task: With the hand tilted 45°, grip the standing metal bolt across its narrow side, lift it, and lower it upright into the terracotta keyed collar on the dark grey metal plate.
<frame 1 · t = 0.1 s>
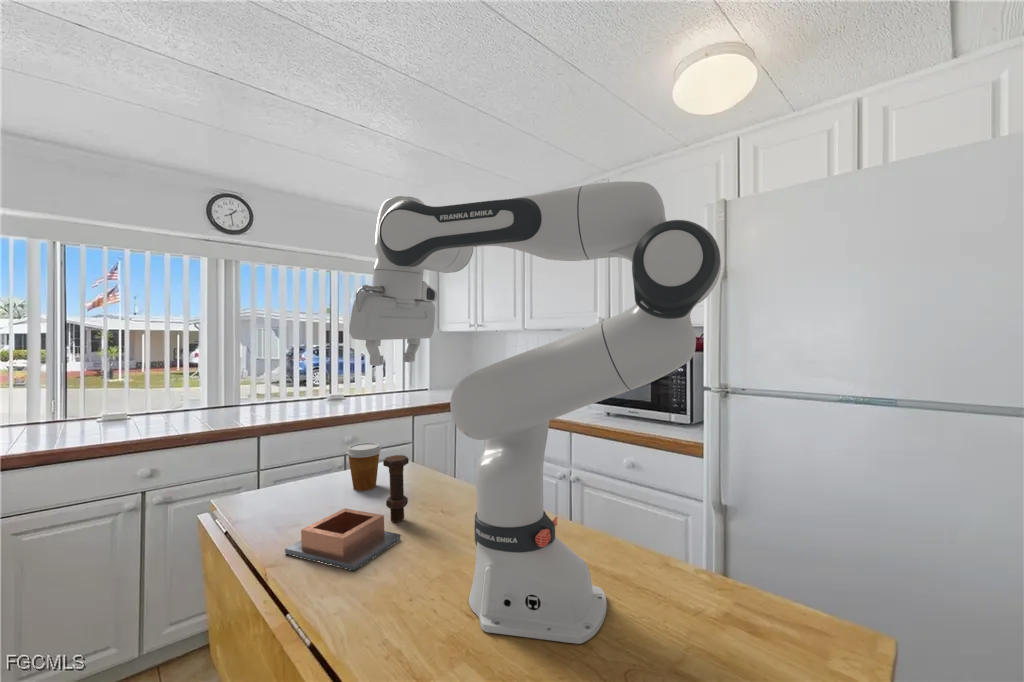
hand: (393, 363, 84), 39 cm above the table, tool pointing down, fingers open, 8 cm apart
disposable coffee cup: (364, 488, 132), on the table
bolt: (397, 521, 108), on the table
socket: (344, 546, 95), on the table
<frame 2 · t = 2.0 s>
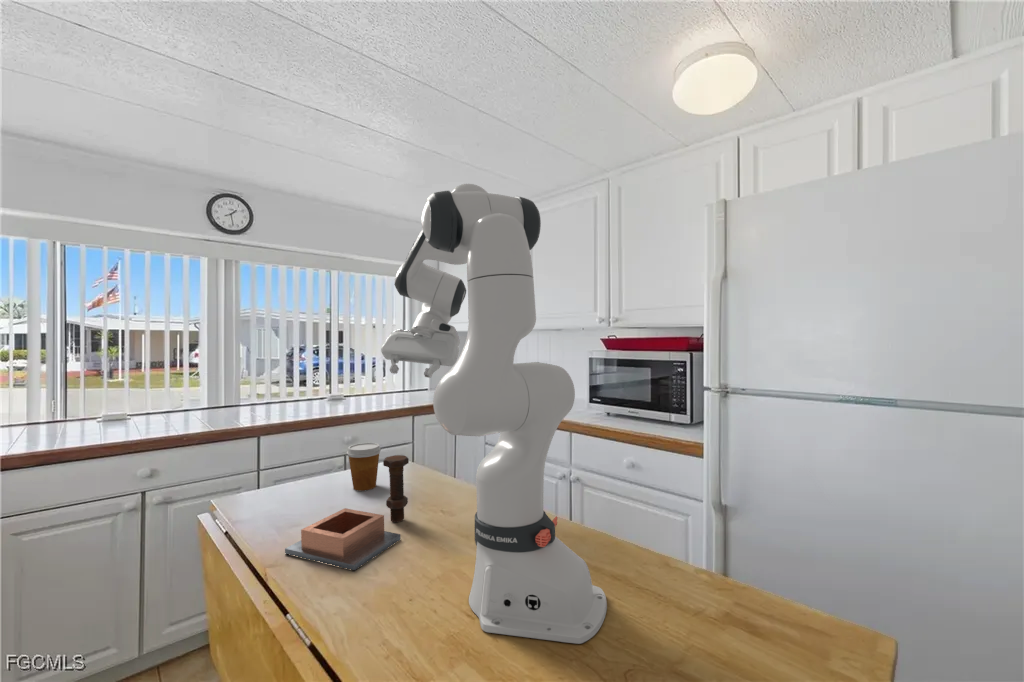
hand: (409, 374, 114), 34 cm above the table, tool tilted 40°, fingers open, 8 cm apart
nothing on the table moved.
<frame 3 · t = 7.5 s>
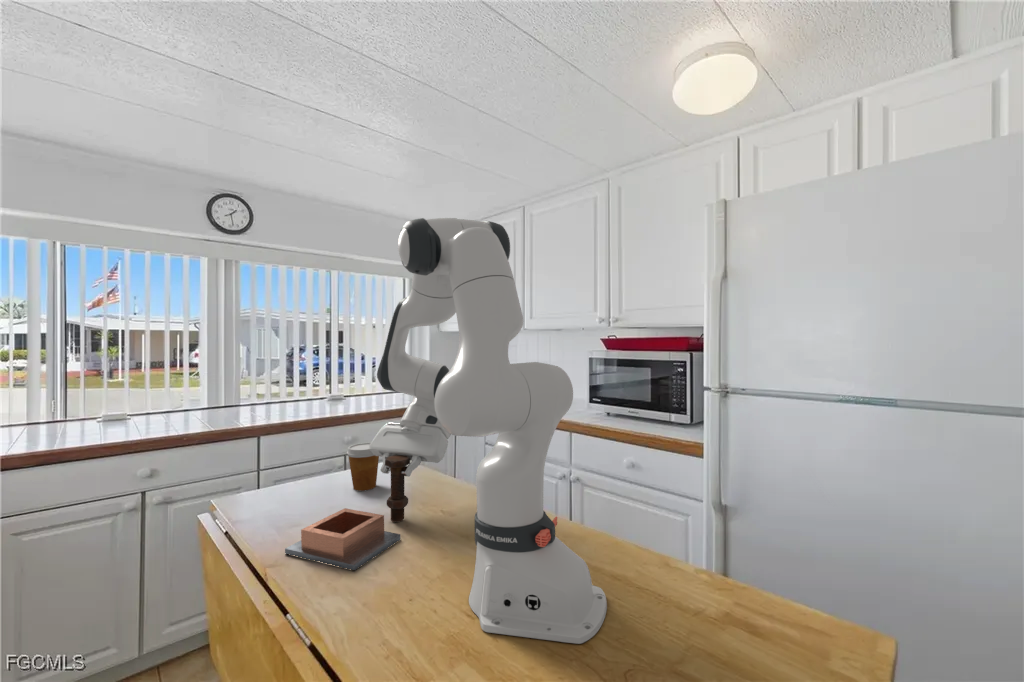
hand: (394, 473, 107), 11 cm above the table, tool tilted 45°, fingers closed on bolt, 5 cm apart
bolt: (397, 521, 108), on the table, touching gripper
everything else where it was.
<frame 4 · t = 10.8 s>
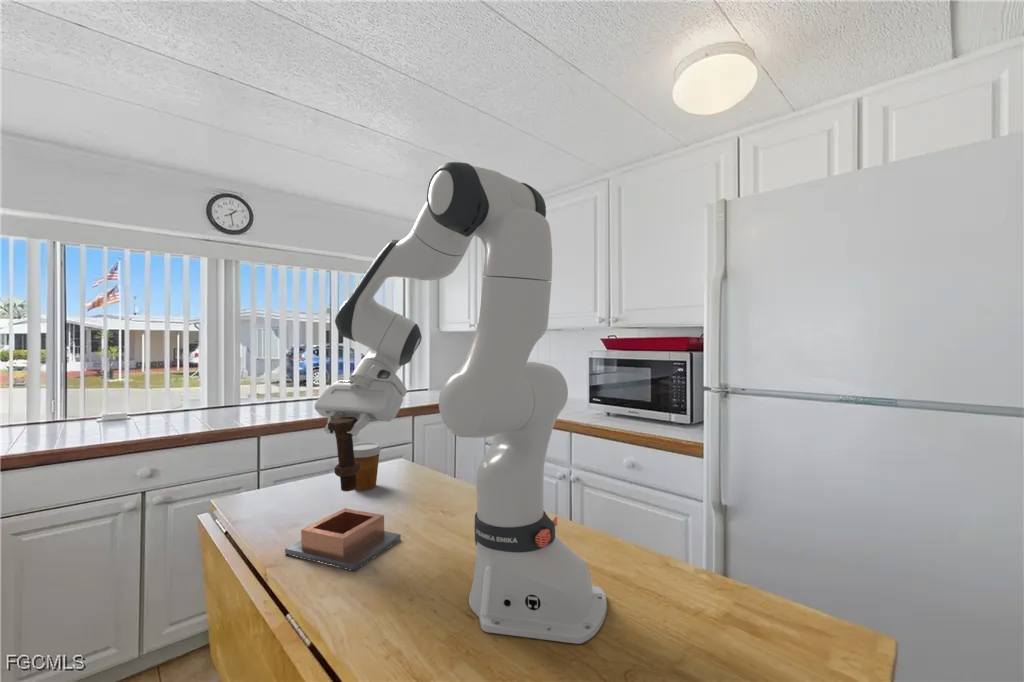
hand: (339, 433, 94), 24 cm above the table, tool tilted 45°, fingers closed on bolt, 5 cm apart
bolt: (349, 490, 96), point 12 cm above the table, touching gripper
everything else where it was.
when the fingers open (13 cm above the table, at t = 13.9 s): bolt stays where it is, resting on socket.
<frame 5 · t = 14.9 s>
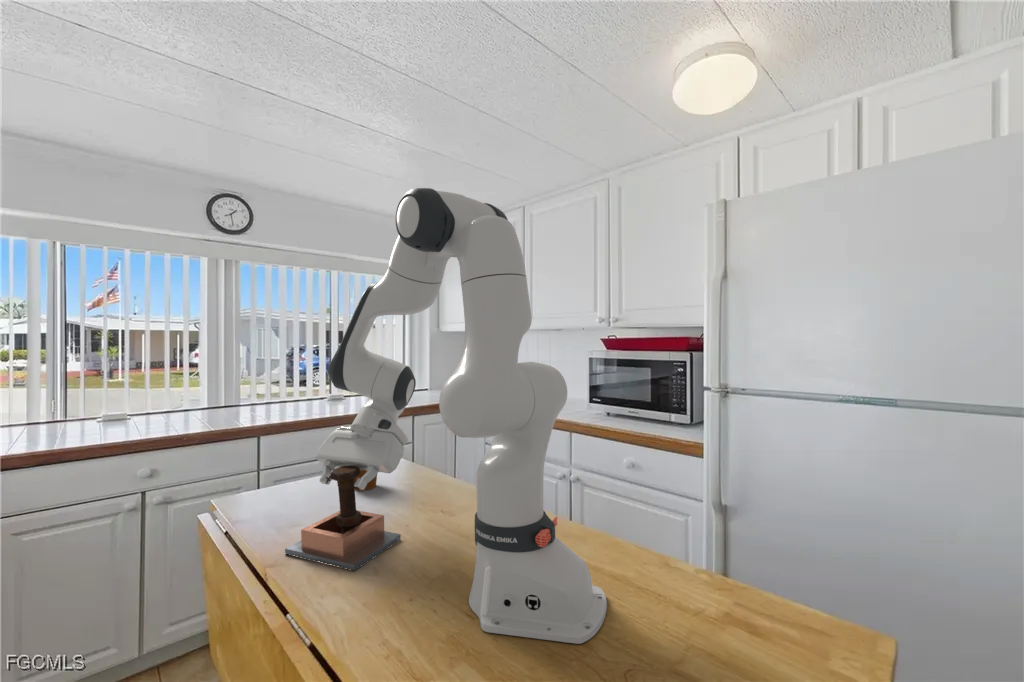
hand: (340, 485, 94), 13 cm above the table, tool tilted 45°, fingers open, 8 cm apart
bolt: (350, 540, 96), point 1 cm above the table, touching socket
everything else where it was.
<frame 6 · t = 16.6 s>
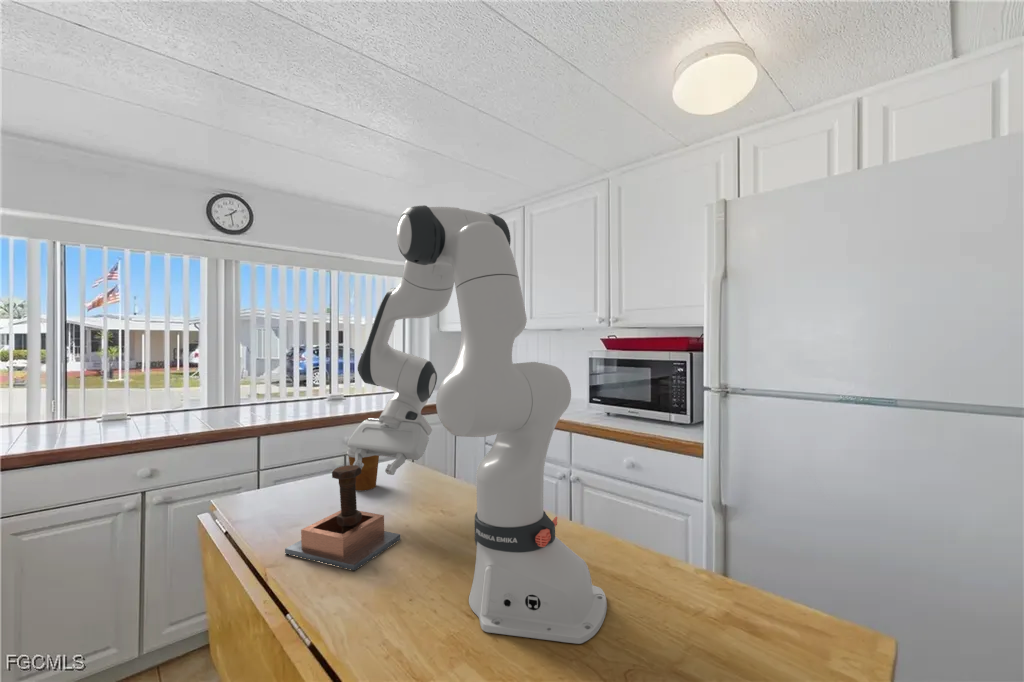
hand: (372, 471, 103), 13 cm above the table, tool tilted 45°, fingers open, 8 cm apart
nothing on the table moved.
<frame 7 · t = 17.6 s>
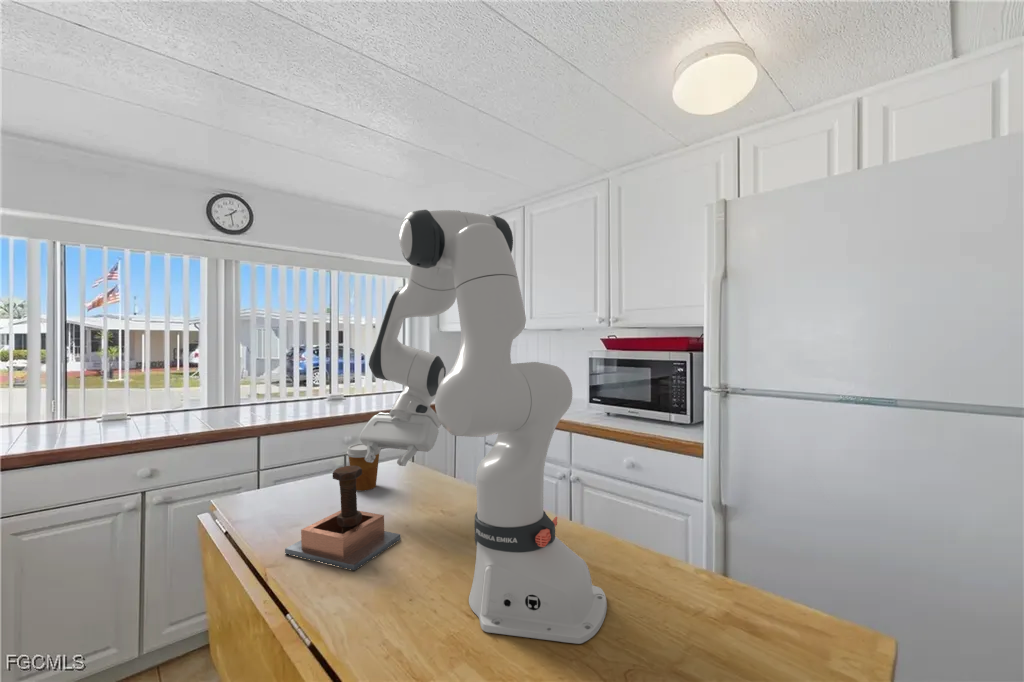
hand: (384, 462, 106), 14 cm above the table, tool tilted 45°, fingers open, 8 cm apart
nothing on the table moved.
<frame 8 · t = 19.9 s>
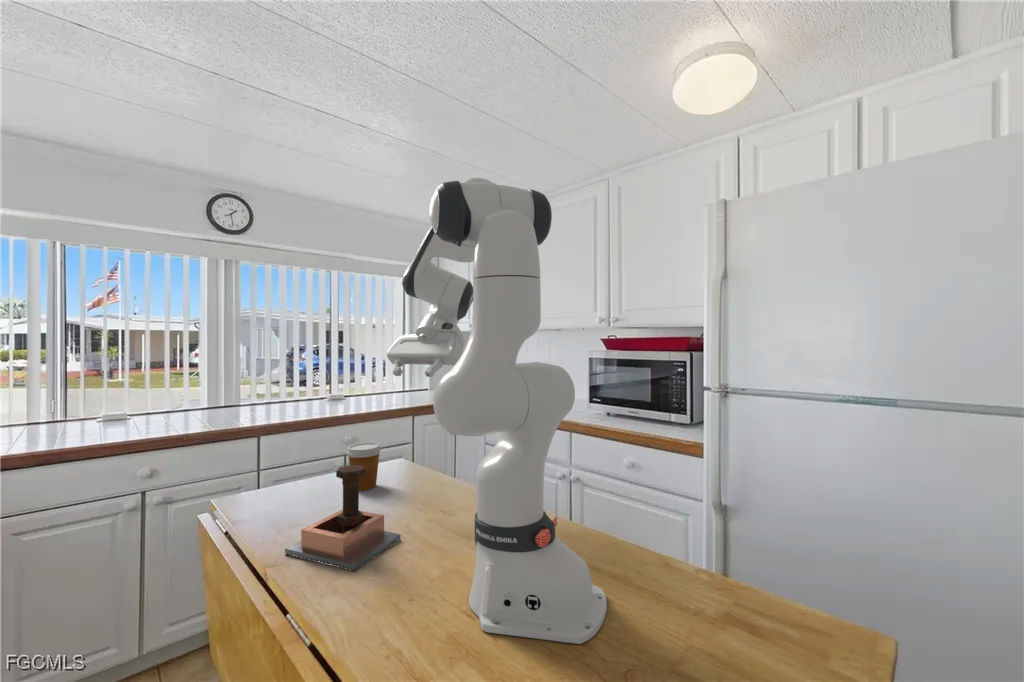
hand: (412, 374, 111), 34 cm above the table, tool tilted 45°, fingers open, 8 cm apart
nothing on the table moved.
at the end: bolt 1.3 cm off-centre on the socket, point 1.1 cm above the socket's base; bolt tilted 2°; the gripper is holding nothing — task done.
